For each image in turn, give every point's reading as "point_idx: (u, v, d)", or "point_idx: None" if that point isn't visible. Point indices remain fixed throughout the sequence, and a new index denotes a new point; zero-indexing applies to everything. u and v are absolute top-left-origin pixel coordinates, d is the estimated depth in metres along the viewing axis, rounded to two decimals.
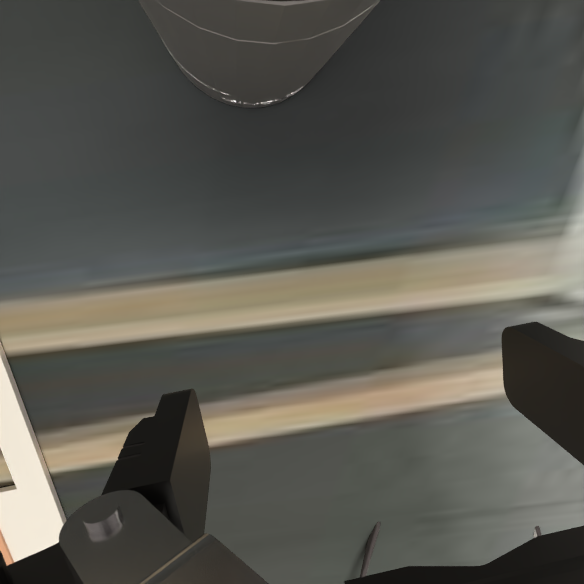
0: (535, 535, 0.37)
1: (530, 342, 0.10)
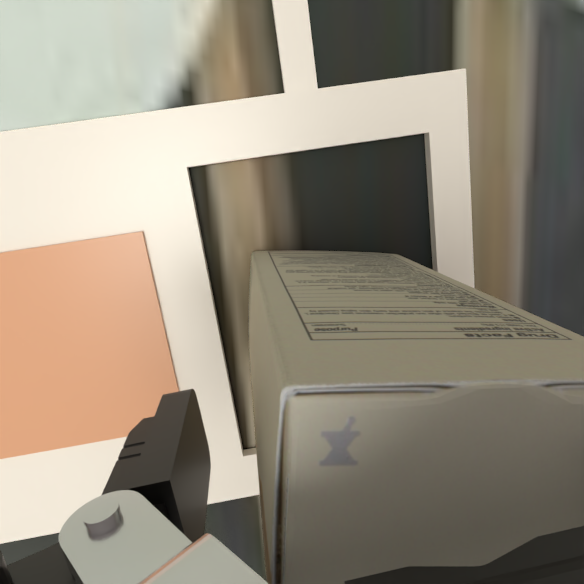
0: None
1: None
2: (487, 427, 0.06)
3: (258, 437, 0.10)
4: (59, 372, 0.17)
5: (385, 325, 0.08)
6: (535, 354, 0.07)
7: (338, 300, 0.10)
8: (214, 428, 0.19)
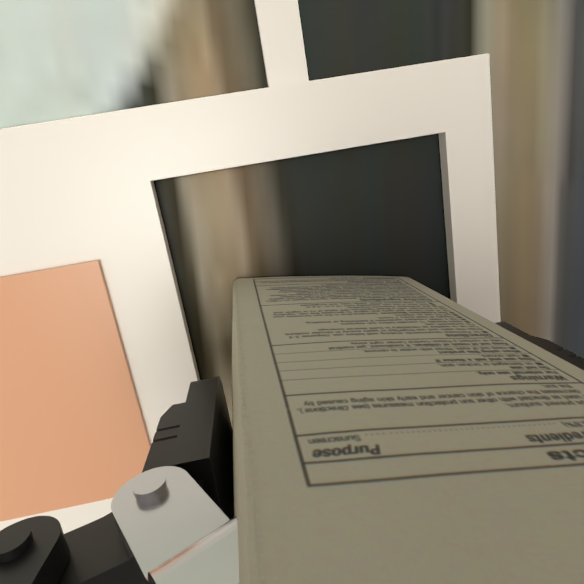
0: None
1: None
2: None
3: None
4: (4, 431, 0.14)
5: (421, 436, 0.05)
6: None
7: (345, 375, 0.07)
8: None
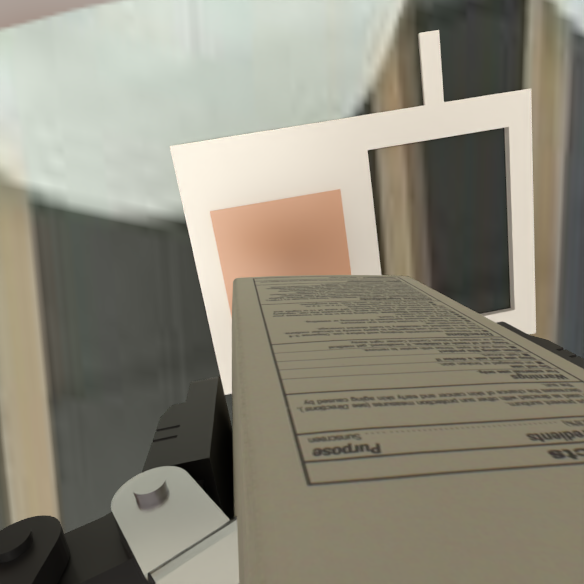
0: None
1: None
2: None
3: None
4: None
5: (422, 435, 0.05)
6: None
7: (345, 374, 0.07)
8: None
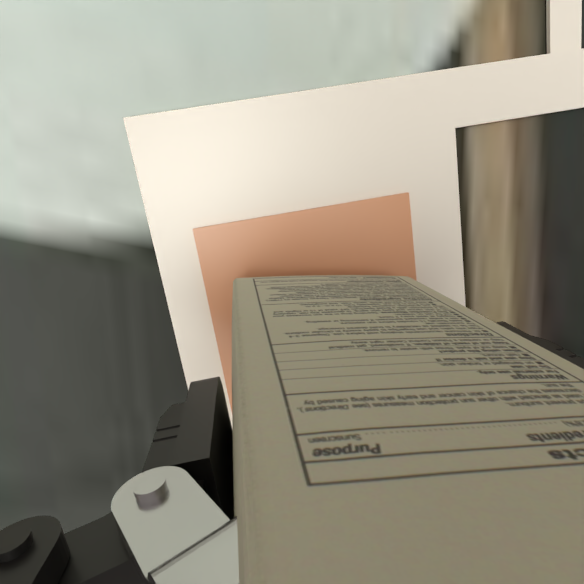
0: None
1: None
2: None
3: None
4: None
5: (422, 435, 0.05)
6: None
7: (345, 374, 0.07)
8: None
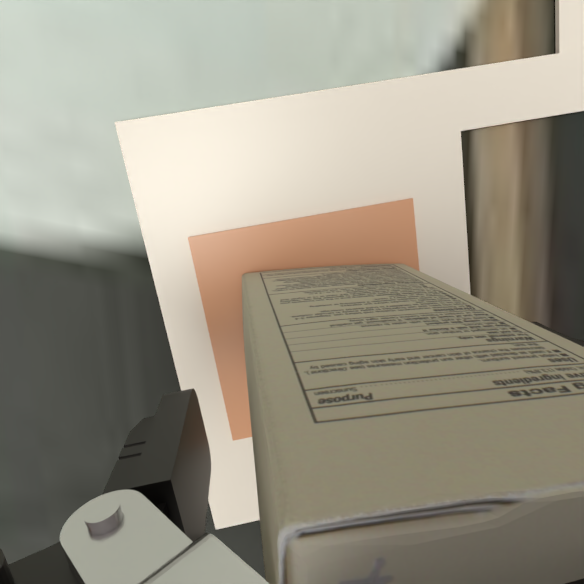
0: None
1: None
2: (564, 547, 0.04)
3: (260, 522, 0.08)
4: None
5: (406, 386, 0.07)
6: None
7: (344, 345, 0.08)
8: None
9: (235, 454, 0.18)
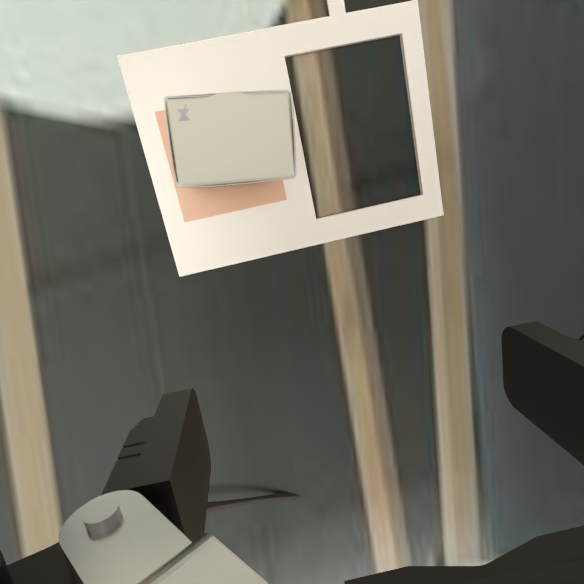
0: None
1: (530, 342, 0.10)
2: (227, 106, 0.21)
3: None
4: None
5: None
6: None
7: None
8: (301, 202, 0.35)
9: (186, 231, 0.34)
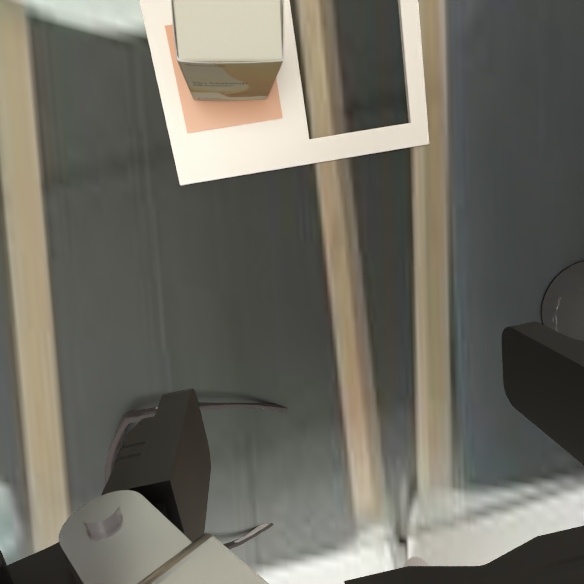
0: (265, 524, 0.48)
1: (530, 342, 0.10)
2: None
3: None
4: None
5: None
6: None
7: None
8: (295, 122, 0.38)
9: (188, 142, 0.37)
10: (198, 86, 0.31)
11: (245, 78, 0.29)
